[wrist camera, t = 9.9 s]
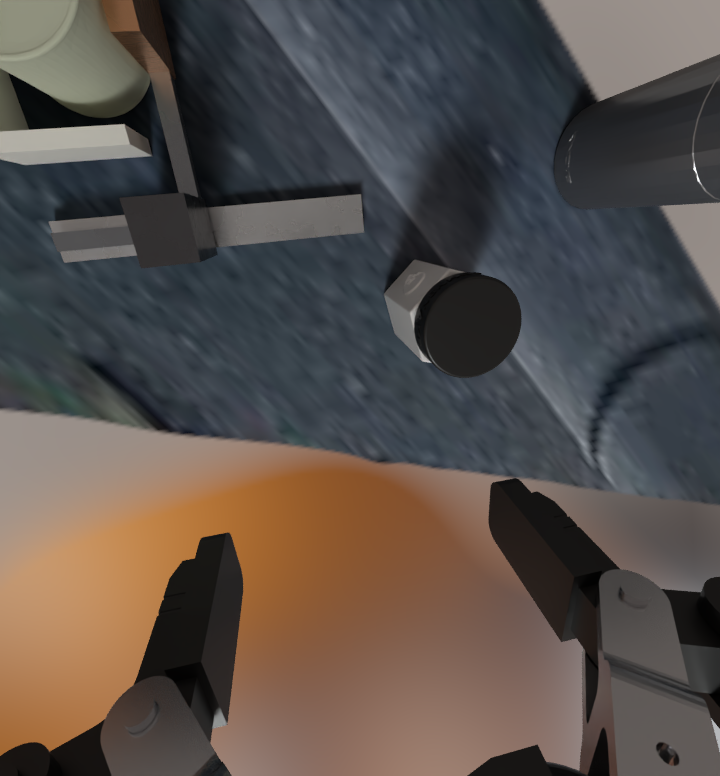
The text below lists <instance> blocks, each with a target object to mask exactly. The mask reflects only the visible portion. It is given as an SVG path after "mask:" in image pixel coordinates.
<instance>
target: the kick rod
mask: <svg viewBox="0 0 720 776" xmlns="http://www.w3.org/2000/svg"><path fill="white" fill-rule="evenodd" d="M102 3H103V7H104V11H105V14H106V18H107V22H108V25H109V29H110V32H111V33H112V34H113V35H114V36H115V38H116V39H117V40H118V41H119V42H120V43H121V44H122V45H123V46H124V47H125V49H126V50H127V51H128V52H129V53H130V54H131V55H132V56H133V57H134V58H135V60H136V61H137V62H138V63H139V64H140V65H141V66H142V67H143V68H144V69H145V71H146V72H147V73H148V74H149V75H150V79H151V83H152V87H153V91H154V95H155V99H156V103H157V107H158V111H159V115H160V119H161V123H162V127H163V131H164V135H165V139H166V143H167V147H168V151H169V155H170V159H171V163H172V167H173V171H174V175H175V179H176V183H177V187H178V191H179V193H172V194H160V195H148V196H135V197H123V198H120V202H121V205H122V208H123V211H124V215H125V218H126V221H127V224H128V226H123V227H112V228H101V229H91V230H80V231H69V232H58V233H51V236H52V238H53V241H54V244H55V246H56V249H57V251H58V252H62V251H72V250H82V249H92V248H103V247H113V246H123V245H133V244H134V247H135V250H136V254H137V257H138V260H139V263H140V266H141V268H148V267H158V266H167V265H177V264H186V263H196V262H202V261H204V260H206V259H209V258H211V257H213V256H216V255H218V254H217V249H216V245H215V240H214V235H213V231H212V226H211V222H210V218H209V214H208V210H207V205H206V201H205V199H202V198H201V194H200V190H199V186H198V181H197V177H196V173H195V168H194V164H193V160H192V155H191V151H190V147H189V142H188V138H187V134H186V129H185V125H184V121H183V116H182V112H181V108H180V103H179V99H178V95H177V90H176V86H175V82H174V79H176V76H175V71H174V67H173V62H172V58H171V54H170V49H169V45H168V41H167V36H166V32H165V27H164V23H163V19H162V14H161V10H160V6H159V1H158V0H102Z"/></svg>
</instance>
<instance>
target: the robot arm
mask: <svg viewBox="0 0 720 776" xmlns="http://www.w3.org/2000/svg"><path fill="white" fill-rule="evenodd" d="M554 175H555V181H556V185H557V187H558V190H559V192H560V194H561V195H562V197H563V198H564V199H565V200H566V201H567V202H568V203H569V204H570V205H572V206H574V207H577V208H580V209H602V208H625V207H644V206H663V205H682V204H699V203H719V202H720V54H719V55H717V56H714V57H712V58H709V59H707V60H704V61H702V62H699V63H696V64H694V65H691V66H689V67H686V68H684V69H681V70H679V71H676V72H673V73H671V74H669V75H666V76H663V77H661V78H659V79H656V80H653V81H651V82H648V83H646V84H643V85H641V86H638V87H636V88H633V89H630V90H628V91H625V92H622V93H620V94H617V95H615V96H613V97H610V98H607V99H605V100H602V101H600V102H597V103H595V104H592V105H590V106H589V107H587V108H585V109H584V110H582V111H581V112H580V113H579V114H578V115H576V116H575V117H574V118H573V120H572V121H571V122H570V124H569V125H568V126H567V127H566V129H565V131H564V133H563V135H562V137H561V138H560V141H559V144H558V147H557V150H556V155H555V161H554ZM489 527H490V531H491V534H492V537H493V539H494V540H495V542H496V544H497V545H498V547H499V548H500V549H501V551H502V553H503V554H504V556H505V557H506V559H507V560H508V562H509V563H510V565H511V566H512V568H513V569H514V571H515V572H516V574H517V575H518V577H519V578H520V580H521V581H522V583H523V585H524V586H525V587H526V589H527V591H528V592H529V593H530V595H531V597H532V598H533V600H534V601H535V603H536V604H537V606H538V607H539V609H540V610H541V612H542V613H543V615H544V616H545V618H546V619H547V621H548V622H549V624H550V625H551V627H552V628H553V630H554V631H555V633H556V635H557V636H558V637H559V639H560V640H561V642H563V641H567V640H571V639H575V638H577V639H578V641H579V642H580V644H581V645H582V646H583V652H582V698H583V699H582V702H583V704H582V706H583V735H582V746H581V755H580V770H579V771H578V770H575V769H572V768H570V767H567V766H564V765H560V764H556V763H550V762H546V761H545V759H544V757H543V755H542V753H541V751H540V749H539V747H538V745H535V746H531V747H528V748H524V749H521V750H517V751H514V752H510V753H507V754H503V755H500V756H496V757H493V758H490V759H489V760H488V761H486V762H485V763H484V764H483V765H481V766H480V767H478V768H477V769H476V770H474V771H473V772H472V773H471V774H469V775H468V776H720V752H719V748H718V744H717V741H716V736H715V733H714V729H713V725H712V721H711V718H712V719H713V721H714V722H715V723H716V725H717V726H718V727H719V728H720V577H714V578H710V579H709V580H707V581H706V582H705V584H704V587H703V589H702V592H688V591H676V590H665V589H660V588H659V587H658V586H657V585H656V584H655V583H654V582H652V581H651V580H649V579H648V578H646V577H644V576H642V575H640V574H637V573H635V572H632V571H628V570H621V569H620V568H619V567H617V566H616V564H614V562H613V561H612V560H611V559H610V558H609V557H608V556H607V555H606V554H605V553H604V552H603V551H602V550H601V549H600V548H599V547H598V546H597V545H596V544H595V543H594V542H593V541H592V540H591V539H590V538H589V537H588V536H587V535H586V534H585V533H584V531H583V530H582V529H581V528H579V527H577V525H576V523H575V522H574V521H573V520H572V519H571V518H570V517H567V514H566V513H565V512H564V511H563V510H562V509H561V508H560V507H559V506H558V505H557V504H556V503H555V502H554V501H553V500H551V499H549V498H548V497H546V496H544V495H542V494H541V493H539V492H533V493H531V492H530V491H529V490H528V489H527V488H526V487H525V485H524V484H523V483H522V482H521V481H520V480H519V479H516V478H514V479H509V480H505V481H499V482H494V483H492V485H491V490H490V505H489ZM242 596H243V577H242V571H241V567H240V564H239V560H238V557H237V554H236V551H235V547H234V544H233V540H232V537H231V535H230V533H224V534H218V535H213V536H208V537H203V538H201V540H200V542H199V545H198V549H197V553H196V557H195V559H190V560H186V561H182V563H181V564H180V565H179V567H178V568H177V569H176V571H175V572H174V573H173V575H172V576H171V577H170V579H169V582H168V585H167V588H166V591H165V595H164V600H163V601H162V603H161V606H160V609H159V616H157V618H156V621H155V624H154V627H153V630H152V634H151V636H150V640H149V642H148V645H147V648H146V651H145V655H144V658H143V661H142V664H141V667H140V670H139V673H138V676H137V678H136V681H135V683H134V685H133V686H132V687H131V688H129V689H128V690H127V691H126V692H125V693H124V694H122V696H121V697H120V698H119V699H118V700H117V701H116V702H115V704H114V705H113V707H112V708H111V709H110V711H109V713H108V714H107V717H106V719H104V720H103V721H102V722H101V723H99V724H98V725H96V726H94V727H93V728H91V729H89V730H87V731H86V732H84V733H82V734H80V735H79V736H77V737H75V738H73V739H71V740H70V741H68V742H66V743H64V744H62V745H61V746H59V747H57V748H55V749H54V750H52V751H50V752H49V750H48V749H47V748H46V747H45V746H44V745H42V744H40V743H35V742H34V743H26V744H22V745H20V746H17V747H15V748H13V749H11V750H9V751H7V752H6V753H4V754H3V755H1V756H0V776H231V774H230V772H229V771H228V769H227V768H226V766H225V765H224V763H223V762H221V760H220V759H219V758H218V756H217V754H216V752H215V751H214V749H213V747H212V746H211V744H210V741H211V733H212V729H213V728H217V727H221V726H225V725H227V722H228V714H229V705H230V697H231V689H232V680H233V671H234V663H235V654H236V647H237V638H238V630H239V621H240V613H241V605H242Z"/></svg>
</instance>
